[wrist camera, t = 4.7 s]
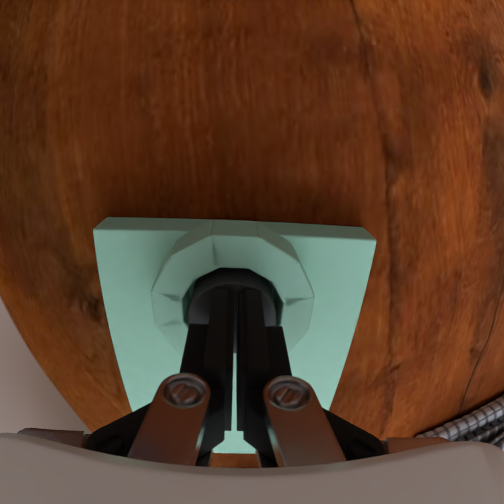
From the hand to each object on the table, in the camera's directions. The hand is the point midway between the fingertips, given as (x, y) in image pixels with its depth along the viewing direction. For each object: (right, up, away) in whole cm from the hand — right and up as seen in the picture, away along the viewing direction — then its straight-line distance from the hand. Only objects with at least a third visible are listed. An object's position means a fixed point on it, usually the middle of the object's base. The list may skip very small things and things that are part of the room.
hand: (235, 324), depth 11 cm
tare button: (0, +1, +2) cm, 2 cm away
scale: (-1, -3, +6) cm, 7 cm away
